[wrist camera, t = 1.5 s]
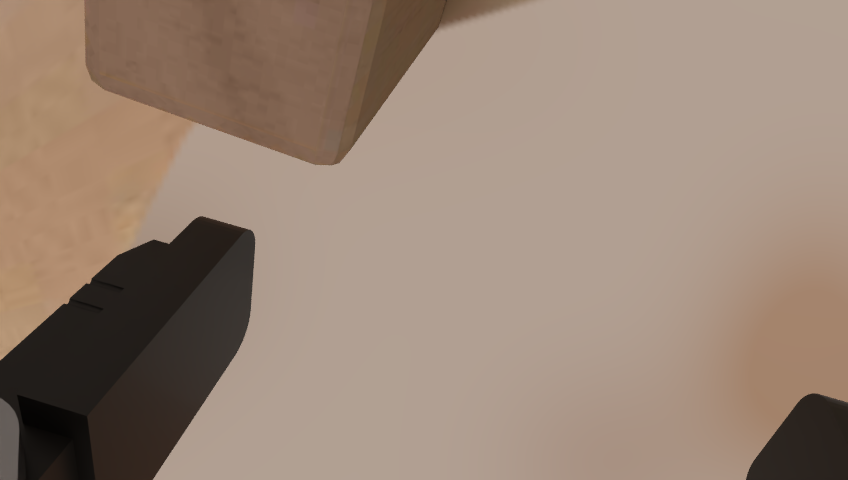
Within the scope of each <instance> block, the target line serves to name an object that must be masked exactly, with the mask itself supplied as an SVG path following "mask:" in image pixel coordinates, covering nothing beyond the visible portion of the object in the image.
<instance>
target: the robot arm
mask: <svg viewBox="0 0 848 480" xmlns="http://www.w3.org/2000/svg"><path fill="white" fill-rule="evenodd" d="M254 253H255V237H254V233H253V232H252V231H251V230H248V229H245V228H241V227H237V226H234V225H231V224H227V223H224V222H220V221H217V220H213V219H210V218H206V217H198V218H196V219H195V220H193V221H192V222H191V223H190V224H189V225H188V226H187V227H186V228H185V229H184V230H183V231H182V232H181V233H180V234H179V235H178V236H177V237H176V238H175V239H174V240H173V241H172V242H171V243H170V244H167V243H164V242H160V241H157V240H152V241H149V242H147V243H145V244H142V245H140V246H138V247H136V248H133V249H131V250H129V251H126V252H124V253H122V254H120V255H117V256H116V257H115V258H114V259H113V260H112V261H111V262H110V263H109V264H107V265H106V266H105V267H104V268H103V269H102V270H101V271H100V272H99V273H97V274H96V275H95V276H94V277H93V278H92V280H91V283H90V284H87V283H86V284H85V285H84V286H83V287H82V288H81V289H80V290H78V291H77V292H76V293H75V294H74V295H73V296H72V297H71V298H70V300H69V303H68V304H63V305H62V306H61V307H60V308H58V309H57V310H56V311H55V312H54V313H53V314H52V315H51V316H49V317H48V318H47V319H46V320H45V321H44V322H43V323H42V324H41V325H39V326H38V327H37V328H36V329H35V330H34V331H33V332H32V333H31V334H29V335H28V336H27V337H26V338H25V339H24V340H23V341H22V342H21V343H19V344H18V345H17V346H16V347H15V348H14V349H13V350H12V351H10V352H9V353H8V354H7V355H6V356H5V357H4V358H3V359H2V360H0V480H153V478H154V477H155V475H156V474H157V472H158V471H159V469H160V468H161V466H162V465H163V463H164V462H165V460H166V459H167V457H168V456H169V454H170V453H171V451H172V450H173V448H174V447H175V445H176V444H177V442H178V441H179V439H180V438H181V436H182V434H183V433H184V431H185V430H186V429H187V427H188V425H189V424H190V423H191V421H192V419H193V418H194V416H195V415H196V413H197V412H198V410H199V409H200V407H201V406H202V404H203V403H204V401H205V400H206V398H207V397H208V395H209V394H210V392H211V391H212V389H213V388H214V386H215V385H216V383H217V382H218V380H219V379H220V377H221V376H222V374H223V373H224V371H225V370H226V368H227V367H228V365H229V364H230V362H231V361H232V359H233V358H234V356H235V355H236V353H237V351H238V349H239V347H240V345H241V343H242V341H243V338H244V336H245V333H246V330H247V326H248V322H249V318H250V311H251V296H252V282H253V268H254ZM746 480H848V403H847V402H844V401H840V400H837V399H834V398H830V397H827V396H823V395H820V394H809V395H807V396H805V397H803V398H802V399H801V400H800V401H799V402H798V403H797V405H796V406H795V407H794V409H793V410H792V411H791V413H790V414H789V415H788V417H787V418H786V419H785V421H784V422H783V423H782V425H781V426H780V427H779V428H778V430H777V431H776V432H775V434H774V435H773V436H772V438H771V439H770V440H769V441H768V443H767V444H766V445H765V447H764V448H763V449H762V451H761V452H760V453H759V455H758V456H757V457H756V459H755V460H754V461H753V463H752V465H751V467H750V469H749V472H748V474H747V478H746Z"/></svg>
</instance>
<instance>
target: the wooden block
mask: <svg viewBox="0 0 848 480" xmlns="http://www.w3.org/2000/svg"><path fill="white" fill-rule="evenodd" d="M445 2H446V0H85V50H86V67H87V69H88V72H89V74H90V77H91V79H92V81H94V82H95V83H96V84H98V85H99V86H100V87H101V88H103V89H104V90H106V91H109V92H112V93H115V94H117V95H120V96H123V97H126V98H129V99H132V100H134V101H137V102H140V103H143V104H146V105H148V106H151V107H154V108H157V109H160V110H163V111H165V112H168V113H171V114H174V115H177V116H179V117H182V118H185V119H188V120H191V121H194V122H196V123H199V124H202V125H205V126H208V127H210V128H213V129H216V130H219V131H222V132H225V133H227V134H230V135H233V136H236V137H239V138H242V139H244V140H247V141H250V142H253V143H256V144H258V145H261V146H264V147H267V148H270V149H273V150H275V151H278V152H281V153H284V154H287V155H289V156H292V157H295V158H298V159H301V160H304V161H306V162H309V163H312V164H315V165H334V164H337V163H340V161H341V160H342V159H343V158H344V157H345V155H346V154H347V153H348V152H349V151H350V149H351V148H352V147H353V145H354V144H355V142H356V141H357V139H358V138H359V137H360V135H361V134H362V133H363V131H364V130H365V128H366V127H367V126H368V124H369V123H370V122H371V120H372V119H373V117H374V116H375V115H376V113H377V112H378V110H379V109H380V108H381V106H382V105H383V103H384V102H385V101H386V99H387V98H388V96H389V95H390V94H391V92H392V91H393V89H394V88H395V86H396V85H397V84H398V82H399V81H400V79H401V78H402V77H403V75H404V74H405V73H406V71H407V70H408V68H409V67H410V66H411V64H412V63H413V61H414V60H415V59H416V57H417V56H418V54H419V53H420V52H421V50H422V49H423V47H424V46H425V45H426V43H427V42H428V41H429V39H430V38H431V36H432V35H433V34H434V32H435V31H436V29H437V28H438V26H439V23H440V19H441V16H442V13H443V9H444V6H445Z"/></svg>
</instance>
